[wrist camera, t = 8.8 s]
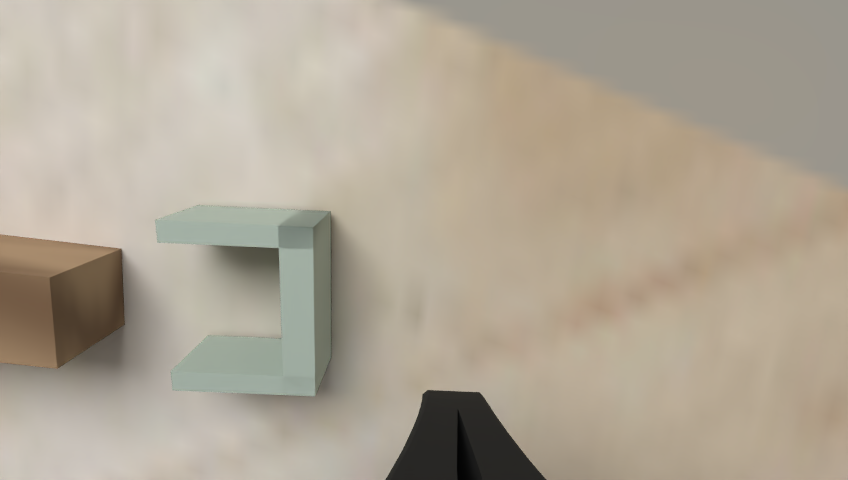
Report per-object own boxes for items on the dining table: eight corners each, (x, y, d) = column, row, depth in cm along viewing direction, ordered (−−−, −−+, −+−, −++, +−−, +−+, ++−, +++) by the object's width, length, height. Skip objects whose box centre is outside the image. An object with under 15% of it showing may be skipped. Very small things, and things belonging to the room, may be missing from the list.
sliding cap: (331, 356, 20) (315, 396, 17) (209, 351, 20) (172, 390, 17) (330, 211, 18) (313, 227, 15) (198, 205, 18) (155, 219, 15)
